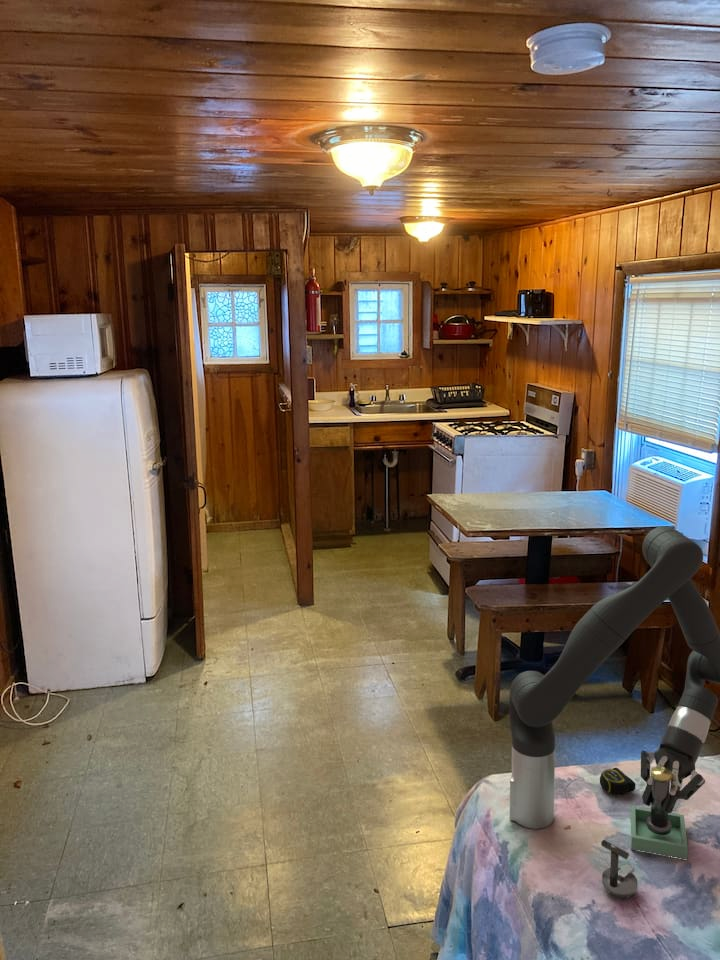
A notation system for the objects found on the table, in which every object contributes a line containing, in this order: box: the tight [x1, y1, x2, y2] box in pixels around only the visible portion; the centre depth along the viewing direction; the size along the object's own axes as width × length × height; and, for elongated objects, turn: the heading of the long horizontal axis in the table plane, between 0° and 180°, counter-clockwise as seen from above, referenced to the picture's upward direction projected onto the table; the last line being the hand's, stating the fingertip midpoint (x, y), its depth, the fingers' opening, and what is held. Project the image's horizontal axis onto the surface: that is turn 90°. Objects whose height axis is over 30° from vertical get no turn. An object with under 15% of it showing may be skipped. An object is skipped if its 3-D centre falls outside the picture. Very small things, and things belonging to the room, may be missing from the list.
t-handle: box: [600, 839, 639, 900], centre depth 141 cm, size 7×6×11 cm
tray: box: [630, 806, 688, 860], centre depth 156 cm, size 11×11×3 cm
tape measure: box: [599, 767, 636, 797], centre depth 173 cm, size 7×7×4 cm
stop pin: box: [647, 765, 672, 835], centre depth 154 cm, size 5×5×13 cm
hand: (655, 808), depth 153 cm, fingers closed on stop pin, 3 cm apart
